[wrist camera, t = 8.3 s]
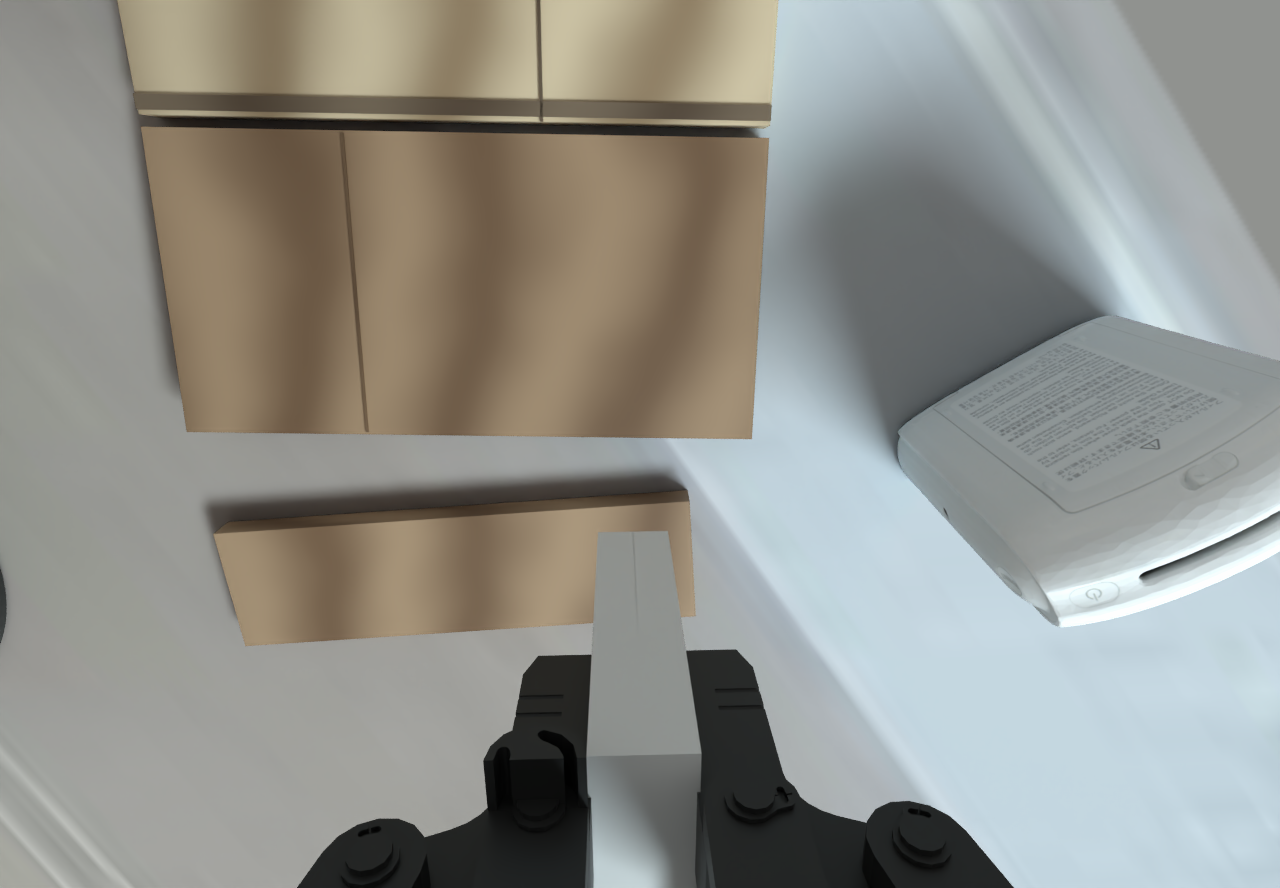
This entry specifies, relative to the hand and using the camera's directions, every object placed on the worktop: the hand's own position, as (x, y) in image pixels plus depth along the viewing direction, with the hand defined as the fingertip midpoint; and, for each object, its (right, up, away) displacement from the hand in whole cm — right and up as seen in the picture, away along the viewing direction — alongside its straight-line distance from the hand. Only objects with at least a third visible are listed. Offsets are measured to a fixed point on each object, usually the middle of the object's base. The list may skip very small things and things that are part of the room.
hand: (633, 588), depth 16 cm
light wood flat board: (-6, +19, +9) cm, 22 cm away
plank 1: (-6, +9, +12) cm, 17 cm away
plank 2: (-8, -2, +17) cm, 18 cm away
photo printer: (+15, +5, +15) cm, 22 cm away
